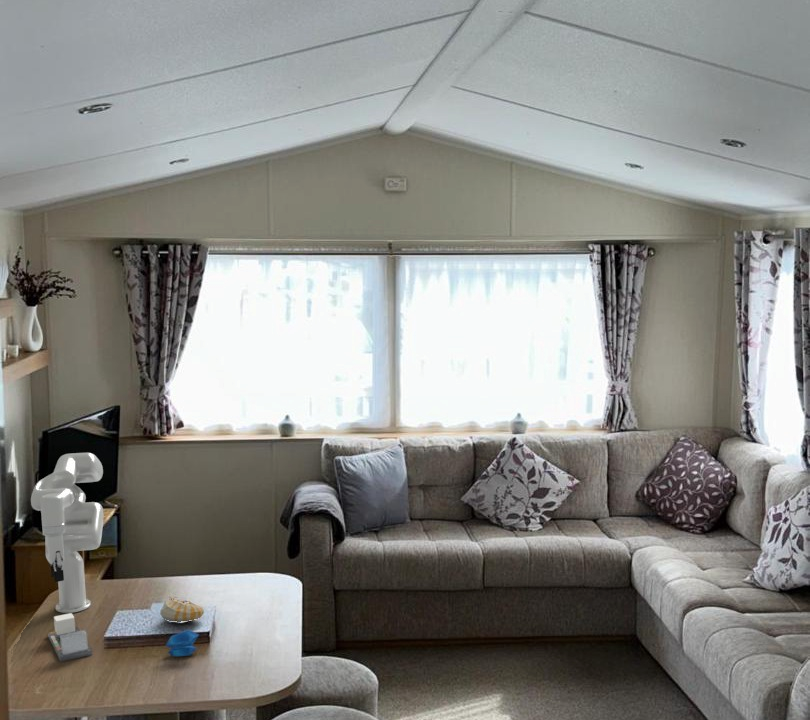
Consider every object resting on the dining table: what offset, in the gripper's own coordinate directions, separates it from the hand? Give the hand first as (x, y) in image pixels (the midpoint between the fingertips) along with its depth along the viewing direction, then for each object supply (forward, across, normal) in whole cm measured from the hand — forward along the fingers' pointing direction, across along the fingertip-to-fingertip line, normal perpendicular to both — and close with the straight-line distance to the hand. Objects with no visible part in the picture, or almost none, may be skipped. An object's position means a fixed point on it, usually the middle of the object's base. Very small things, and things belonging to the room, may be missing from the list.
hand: (57, 578), depth 337 cm
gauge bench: (+19, +15, 0) cm, 25 cm away
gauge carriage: (+17, +8, -1) cm, 18 cm away
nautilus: (+20, +13, +39) cm, 46 cm away
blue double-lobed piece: (+20, +44, +31) cm, 57 cm away
